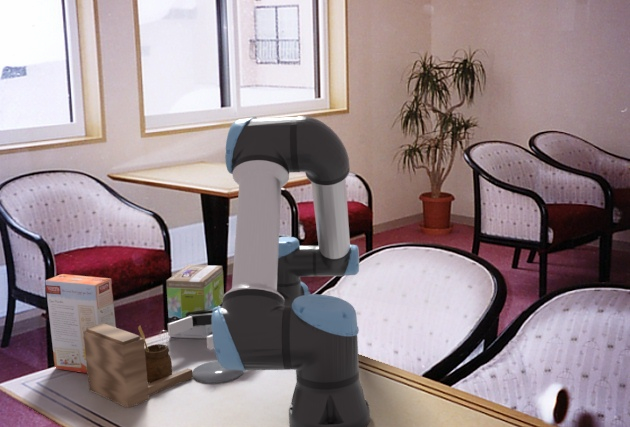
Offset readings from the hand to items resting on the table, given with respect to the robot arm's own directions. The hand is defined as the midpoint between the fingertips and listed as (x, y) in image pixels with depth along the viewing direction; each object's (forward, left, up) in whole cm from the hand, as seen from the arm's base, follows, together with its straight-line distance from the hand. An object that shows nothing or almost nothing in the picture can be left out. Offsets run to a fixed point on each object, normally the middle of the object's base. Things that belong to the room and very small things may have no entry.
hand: (187, 336), depth 180 cm
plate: (-8, -1, -7) cm, 11 cm away
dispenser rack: (0, +13, -7) cm, 14 cm away
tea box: (+18, -17, -7) cm, 26 cm away
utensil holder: (0, +9, -7) cm, 11 cm away
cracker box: (+18, +15, -7) cm, 24 cm away
